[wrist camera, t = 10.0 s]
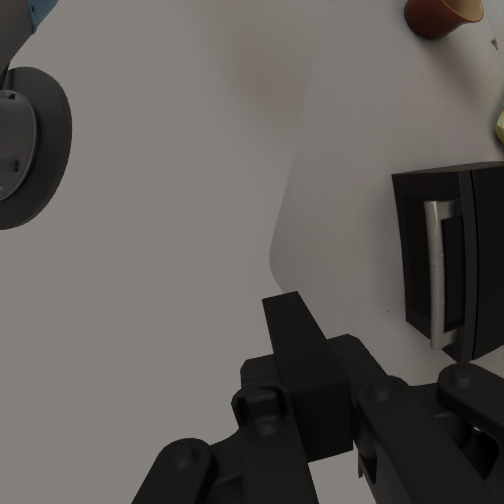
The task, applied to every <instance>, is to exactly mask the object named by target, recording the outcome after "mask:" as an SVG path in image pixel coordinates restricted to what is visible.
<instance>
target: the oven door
mask: <svg viewBox="0 0 504 504" xmlns="http://www.w3.org/2000/svg"><path fill="white" fill-rule="evenodd" d="M392 180H393V186H394V192H395V199H396V206H397V213H398V220H399V228H400V237H401V247H402V257H403V269H404V283H405V302H406V321H407V322H409V323H410V324H411V325H412V326H414V327H415V328H416V329H417V330H419V331H420V332H421V333H422V334H423V335H425V336H426V337H427V338H428V339H430V340H431V342H430V347H431V348H432V349H434V350H440V349H442V350H443V351H444V352H445V353H446V354H448V355H449V356H450V357H451V358H452V359H454V360H455V361H456V362H457V363H468V362H470V361H471V360H472V352H473V344H474V334H475V322H476V306H477V237H476V221H475V209H474V199H473V190H472V182H471V175H470V170H450V171H428V172H410V173H398V174H392Z"/></svg>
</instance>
